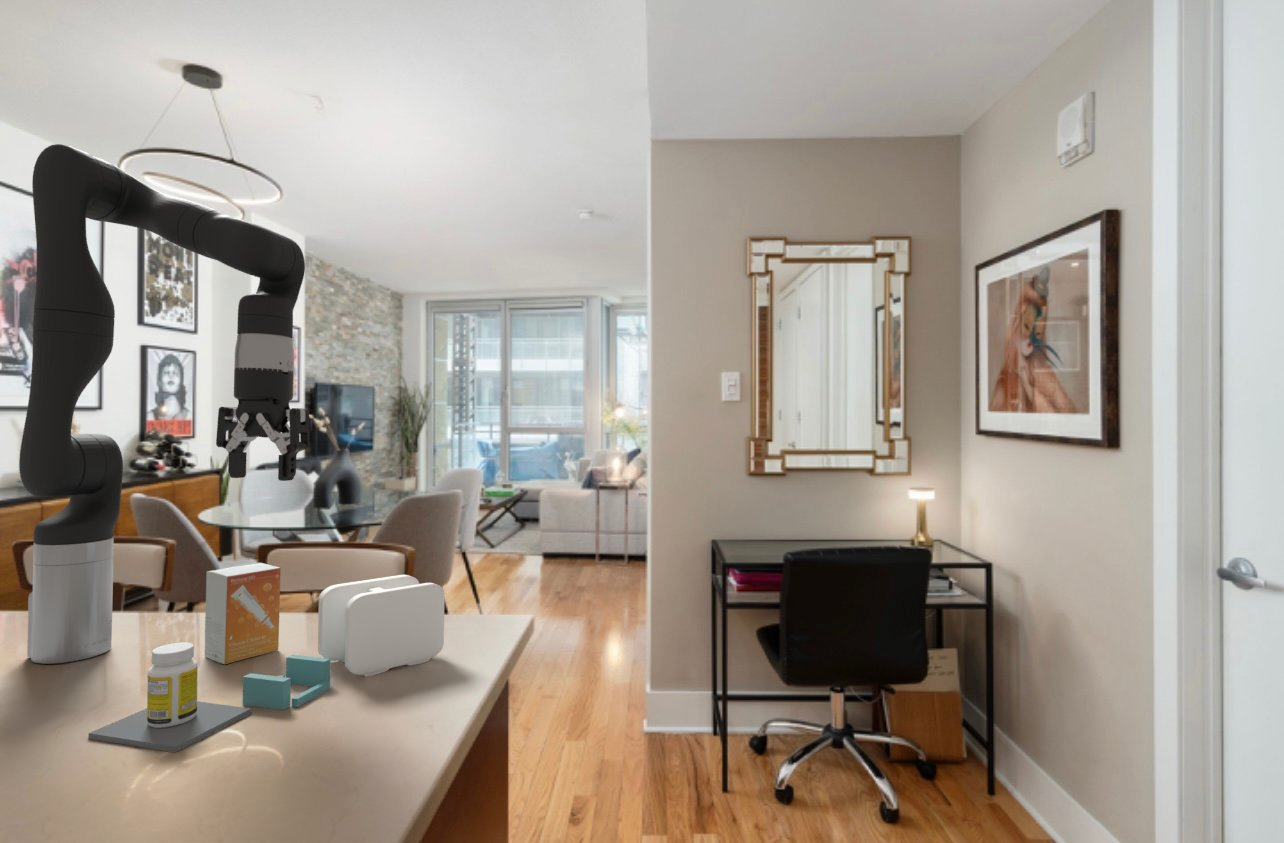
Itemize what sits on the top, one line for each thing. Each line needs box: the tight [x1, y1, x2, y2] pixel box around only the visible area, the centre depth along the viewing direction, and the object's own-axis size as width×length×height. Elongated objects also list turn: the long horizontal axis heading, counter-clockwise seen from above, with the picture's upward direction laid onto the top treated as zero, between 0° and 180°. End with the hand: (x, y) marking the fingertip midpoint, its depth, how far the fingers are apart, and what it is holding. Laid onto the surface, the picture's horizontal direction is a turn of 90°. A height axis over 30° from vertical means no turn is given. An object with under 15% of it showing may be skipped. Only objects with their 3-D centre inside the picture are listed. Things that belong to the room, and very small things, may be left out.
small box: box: [204, 562, 281, 665], centre depth 102 cm, size 8×6×13 cm
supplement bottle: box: [146, 641, 198, 728], centre depth 77 cm, size 5×5×8 cm
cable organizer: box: [317, 574, 446, 677], centre depth 99 cm, size 15×11×12 cm
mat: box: [88, 700, 252, 753], centre depth 77 cm, size 12×10×1 cm
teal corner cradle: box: [242, 654, 331, 711], centre depth 87 cm, size 8×8×4 cm
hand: (261, 479), depth 97 cm, fingers open, 8 cm apart
